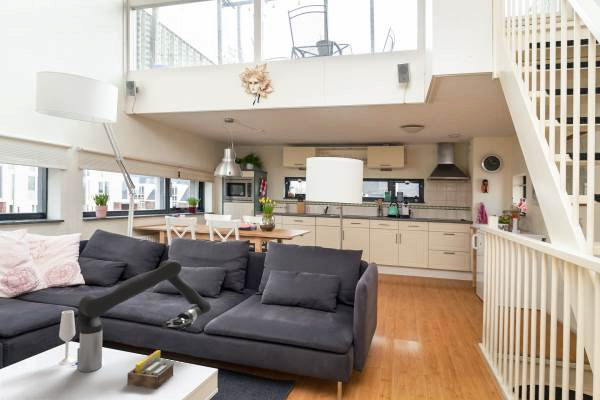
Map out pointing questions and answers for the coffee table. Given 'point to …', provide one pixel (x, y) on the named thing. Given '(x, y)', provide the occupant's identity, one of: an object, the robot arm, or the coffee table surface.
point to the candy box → (148, 361)
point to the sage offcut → (152, 367)
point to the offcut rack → (150, 377)
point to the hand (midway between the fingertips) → (170, 327)
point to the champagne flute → (67, 332)
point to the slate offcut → (159, 370)
